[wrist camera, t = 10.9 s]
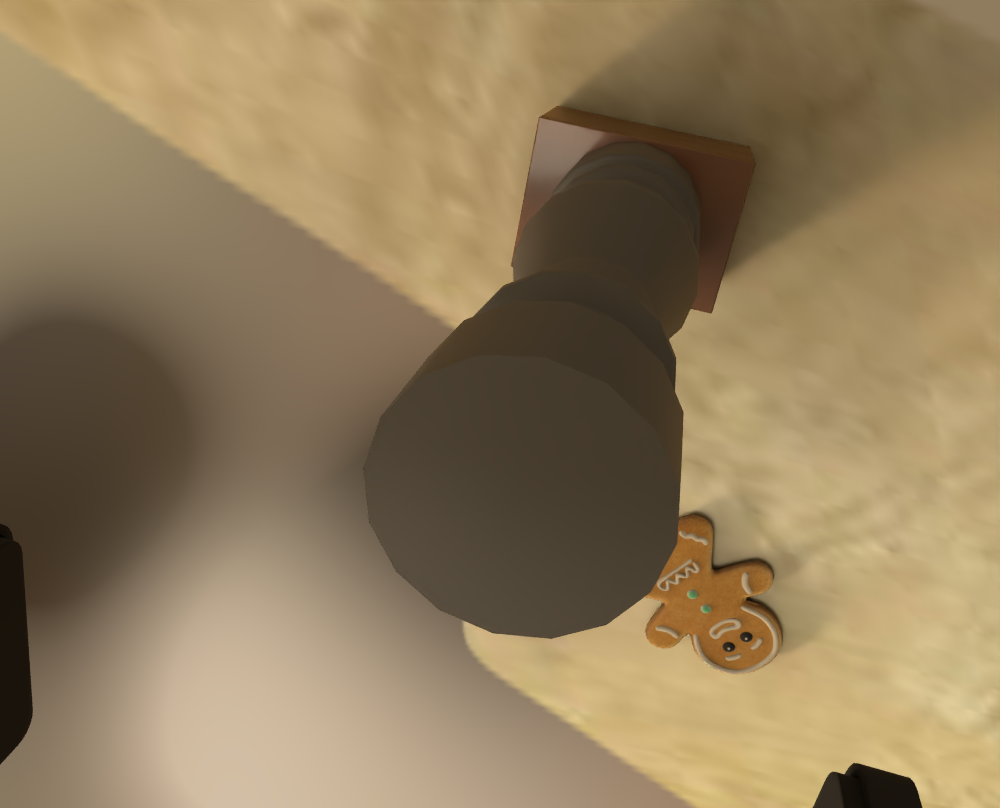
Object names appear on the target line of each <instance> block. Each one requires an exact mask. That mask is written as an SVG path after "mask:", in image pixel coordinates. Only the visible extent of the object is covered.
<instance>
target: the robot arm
mask: <svg viewBox="0 0 1000 808" xmlns="http://www.w3.org/2000/svg"><path fill="white" fill-rule="evenodd" d="M24 587H25V586H24V571H23V556H22V549H21V546H20V545H19V543H17V542H15V541H13V536H12V532H11V531H10V529H9V528H8V527H7V526H5V525H2V524H0V764H1V763H2V762H3V761H4V760H5V759H6V758H7V756H9V754H10V753H11V752H12V751H13V750H14V749H15V748H16V747H17V746H18V744H19V743H20V742H21V741H22V739H23V737H24V736H25V734H26V733H27V730H28V728H29V726H30V723H31V719H32V713H33V707H32V692H31V676H30V662H29V646H28V631H27V616H26V601H25V588H24ZM813 808H922V805H921V801H920V798H919V794H918V791H917V788H916V786H915V783H914V782H913V781H912V780H911V779H910V778H908V777H905V776H901V775H897V774H894V773H890V772H887V771H883V770H880V769H876V768H872V767H869V766H865V765H862V764H858V763H853V764H852V765H851V766H850V767H849V768H848V770H847V771H846V773H845V775H844V774H841V773H837V772H831V773H830V774H829V775H828V777H827V778H826V780H825V782H824V785H823V787H822V789H821V791H820V793H819V795H818V798H817V800H816V802H815V804H814V806H813Z"/></svg>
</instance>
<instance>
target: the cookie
mask: <svg viewBox="0 0 1000 808" xmlns="http://www.w3.org/2000/svg"><path fill="white" fill-rule="evenodd" d="M712 547H713V529H712V526H711V524H710V522H709V521H708V520H707V519H706V518H704V517H701V516H699V515H687V516H684V517H682V518H680V519H679V521H678V541H677V545H676V547H675V549H674V551H673V553H672V555H671V556H670V558H669V560H668V562H667V564H666V566H665V567H664V569H663V571H662V573H661V575H660V577H659V578H658V580H657V582H656V584H655V586H654V588H653V589H652V591H651V592H650V593H649V594H648V595H646V596H645V597H647V598H651V599H656V600H661V601H662V602H663V604H662V606H661V607H660V608H659V609H658V611H657V612H656V613H655V615H654V616H653V617H652V618H651V620H650V621H649V623H648V625H647V628H646V631H645V632H646V637H647V639H648V640H649V642H650V643H651V644H653V645H654V646H656V647H660V648H670V647H673V646H675V645H676V644H677V643H678V642H679V641H680V640H681V639H682V638H683V636H684V635H686V634H690V635H691V639H692V644H693V647H694V650H695V652H696V654H697V655H698V656H699V657H700V659H701V660H703V661H704V662H705V663H706V664H707V665H709V666H710V667H712V668H714V669H716V670H718V671H720V672H723V673H727V674H736V675H737V674H746V673H750V672H753V671H756V670H758V669H760V668H762V667H764V666H765V665H767V664H768V663H770V662H771V661H772V660H773V659H774V658H775V657H776V656H777V654H778V652H779V651H780V648H781V645H782V634H781V630H780V627H779V624H778V622H777V620H776V618H775V617H774V615H773V614H772V613H771V612H770V611H769V610H768V609H767V608H765V607H764V606H762V605H760V604H758V603H755V602H752V601H749V600H746V598H747V597H750V596H754V595H758V594H761V593H764V592H766V591H767V590H768V589H769V588H770V587H771V585H772V583H773V574H772V571H771V569H770V568H769V567H768V566H767V565H766V564H764V563H761V562H758V561H749V562H744V563H739V564H735V565H732V566H728V567H724V568H721V569H717V570H715V569H713V568H712V566H711V562H712Z"/></svg>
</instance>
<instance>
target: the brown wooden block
mask: <svg viewBox="0 0 1000 808" xmlns="http://www.w3.org/2000/svg"><path fill="white" fill-rule="evenodd" d="M619 142H643V143H646V144H648V145H651V146H653V147H656V148H658V149H660V150H663V151H665V152H668V153H670V154H671V155H672V156H673V157H674V158H675V159H676V160H677V161H678V162H679V163H680V164H681V165H682V166H683V167H684V168H685V169H686V170H687V172H688V173H689V174H690V175H691V177H692V180H693V183H694V185H695V188H696V191H697V193H698V196H699V199H700V201H701V216H700V240H699V250H698V255H699V260H698V283H697V297H696V299H695V301H694V303H693V305H692V307H691V309H694V310H699V311H703V312H707V313H712V311H713V308H714V304H715V301H716V297H717V294H718V291H719V287H720V284H721V280H722V277H723V274H724V270H725V267H726V263H727V260H728V256H729V253H730V250H731V246H732V243H733V239H734V236H735V233H736V229H737V226H738V222H739V219H740V215H741V212H742V209H743V205H744V202H745V198H746V195H747V192H748V188H749V185H750V181H751V178H752V174H753V171H754V168H755V161H754V158H753V155H752V152H751V149H750V147H748V146H744V145H739V144H734V143H729V142H725V141H720V140H715V139H711V138H706V137H701V136H696V135H692V134H687V133H682V132H678V131H673V130H668V129H663V128H659V127H654V126H649V125H645V124H640V123H635V122H630V121H626V120H621V119H616V118H612V117H607V116H602V115H597V114H593V113H588V112H583V111H579V110H574V109H569V108H564V107H560V106H556V107H555V108H553V109H552V110H550V111H549V112H547V113H545V114H544V115H542V116H540V117H539V120H538V126H537V131H536V136H535V142H534V147H533V152H532V157H531V163H530V168H529V173H528V179H527V184H526V189H525V194H524V200H523V205H522V210H521V216H520V221H519V226H518V232H517V237H516V242H515V247H514V253H513V256H514V254H515V251H516V248H517V246H518V243H519V240H520V238H521V235H522V232H523V230H524V227H525V225H526V223H527V222H528V221H529V220H530V219H531V218H532V217H533V216H534V215H535V214H536V213H537V212H538V211H539V209H540V208H541V207H542V206H543V205H544V204H545V203H546V202H547V201H548V200H549V199H550V198H551V196H552V193H553V190H554V189H555V187H556V186H557V185H558V184H559V183H560V181H561V180H562V179H563V178H564V177H565V176H566V175H567V174H568V172H569V171H570V170H571V169H572V168H573V167H574V166H575V165H576V164H577V163H578V162H579V161H580V160H581V159H582V158H583V157H584V156H585V155H586V154H588V153H590V152H592V151H595V150H597V149H599V148H602V147H604V146H606V145H608V144H611V143H619ZM511 267H513V258H512V263H511Z"/></svg>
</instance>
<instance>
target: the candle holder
mask: <svg viewBox="0 0 1000 808" xmlns="http://www.w3.org/2000/svg"><path fill="white" fill-rule="evenodd" d="M700 216H701V201H700V199H699V196H698V193H697V191H696V188H695V185H694V183H693V180H692V177H691V175H690V174H689V173H688V172H687V170H686V169H685V168H684V167H683V166H682V165H681V164H680V163H679V162H678V161H677V160H676V159H675V158H674V157H673V156H672V155H671V154H670V153H668V152H665V151H663V150H660V149H658V148H656V147H653V146H651V145H648V144H646V143H643V142H619V143H611V144H608V145H606V146H604V147H602V148H599V149H597V150H595V151H592V152H590V153H588V154H586V155H585V156H584V157H583V158H582V159H581V160H580V161H579V162H578V163H577V164H576V165H575V166H574V167H573V168H572V169H571V170H570V171H569V172H568V174H567V175H566V176H565V177H564V178H563V179H562V180H561V181H560V183H559V184H558V185H557V186H556V187H555V189H554V190H553V193H552V196H551V198H550V199H549V200H548V201H547V202H546V203H545V204H544V205H543V206H542V207H541V208H540V209H539V211H538V212H537V213H536V214H535V215H534V216H533V217H532V218H531V219H530V220H529V221H528V222H527V223H526V225H525V227H524V230H523V232H522V235H521V238H520V240H519V243H518V246H517V248H516V251H515V254H514V256H513V276H514V282H511V283H509V284H506V285H504V286H503V287H502V288H501V289H500V290H499V291H498V292H497V293H496V294H495V295H494V296H493V297H492V298H491V299H490V300H489V301H488V302H487V303H486V304H485V305H484V306H483V307H482V308H481V309H480V310H479V311H478V312H477V313H476V314H475V315H474V316H473V317H471V318H469V319H466V320H464V321H463V322H462V323H461V324H460V325H459V326H458V327H457V328H456V329H455V330H454V331H453V332H452V333H451V334H450V335H449V336H448V337H447V338H446V339H445V341H443V342H442V344H441V345H440V346H439V347H438V348H437V349H436V350H435V351H434V352H433V353H432V354H431V355H430V356H429V357H428V358H427V359H426V361H425V362H424V363H423V365H422V366H421V367H420V368H419V370H418V371H417V372H416V373H415V375H414V376H413V377H412V378H411V380H410V381H409V382H408V383H407V385H406V386H405V387H404V388H403V390H402V391H401V392H400V394H399V395H398V396H397V397H396V398H395V400H394V401H393V402H392V404H391V405H390V406H389V407H388V408H387V410H386V411H385V412H384V413H383V415H382V416H381V417H380V420H379V423H378V426H377V429H376V432H375V435H374V438H373V441H372V444H371V447H370V450H369V453H368V456H367V459H366V462H365V465H364V468H363V470H364V480H365V489H366V498H367V506H368V515H369V523H370V525H371V526H372V528H373V530H374V532H375V534H376V536H377V537H378V539H379V541H380V543H381V545H382V547H383V548H384V550H385V552H386V554H387V556H388V558H389V559H390V561H391V563H392V565H393V567H394V569H395V570H396V572H397V573H399V574H400V575H401V576H402V577H403V578H404V579H405V580H406V581H408V582H409V583H410V584H411V585H412V586H413V587H414V588H415V589H416V590H418V591H419V592H420V593H421V594H422V595H423V596H424V597H425V598H427V599H428V600H429V601H430V602H431V603H432V604H433V605H434V606H435V607H437V608H438V609H439V610H441V611H443V612H445V613H448V614H450V615H452V616H455V617H457V618H459V619H462V620H464V621H466V622H468V623H471V624H473V625H475V626H478V627H480V628H482V629H485V630H487V631H489V632H491V633H496V634H507V635H518V636H528V637H539V638H550V639H552V638H556V637H560V636H564V635H568V634H572V633H576V632H580V631H584V630H588V629H592V628H596V627H599V626H603V625H607V624H608V623H610V622H611V621H612V620H614V619H615V618H616V617H618V616H619V615H620V614H622V613H623V612H625V611H626V610H627V609H629V608H630V607H631V606H633V605H634V604H635V603H637V602H638V601H640V600H641V599H642V598H644V597H645V596H646V595H648V594H649V593H650V592H651V591H652V589H653V588H654V586H655V584H656V582H657V580H658V578H659V577H660V575H661V573H662V571H663V569H664V567H665V566H666V564H667V562H668V560H669V558H670V556H671V555H672V553H673V551H674V549H675V547H676V545H677V541H678V521H679V502H680V482H681V463H682V437H683V410H682V408H681V405H680V403H679V400H678V398H677V396H676V393H675V378H676V357H675V354H674V352H673V349H672V347H671V344H670V342H669V339H670V338H671V337H672V336H673V335H674V334H675V333H676V332H678V331H679V330H680V329H681V328H682V326H683V324H684V322H685V319H686V317H687V315H688V313H689V311H690V309H691V307H692V305H693V303H694V301H695V299H696V297H697V283H698V260H699V255H698V250H699V240H700Z"/></svg>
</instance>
